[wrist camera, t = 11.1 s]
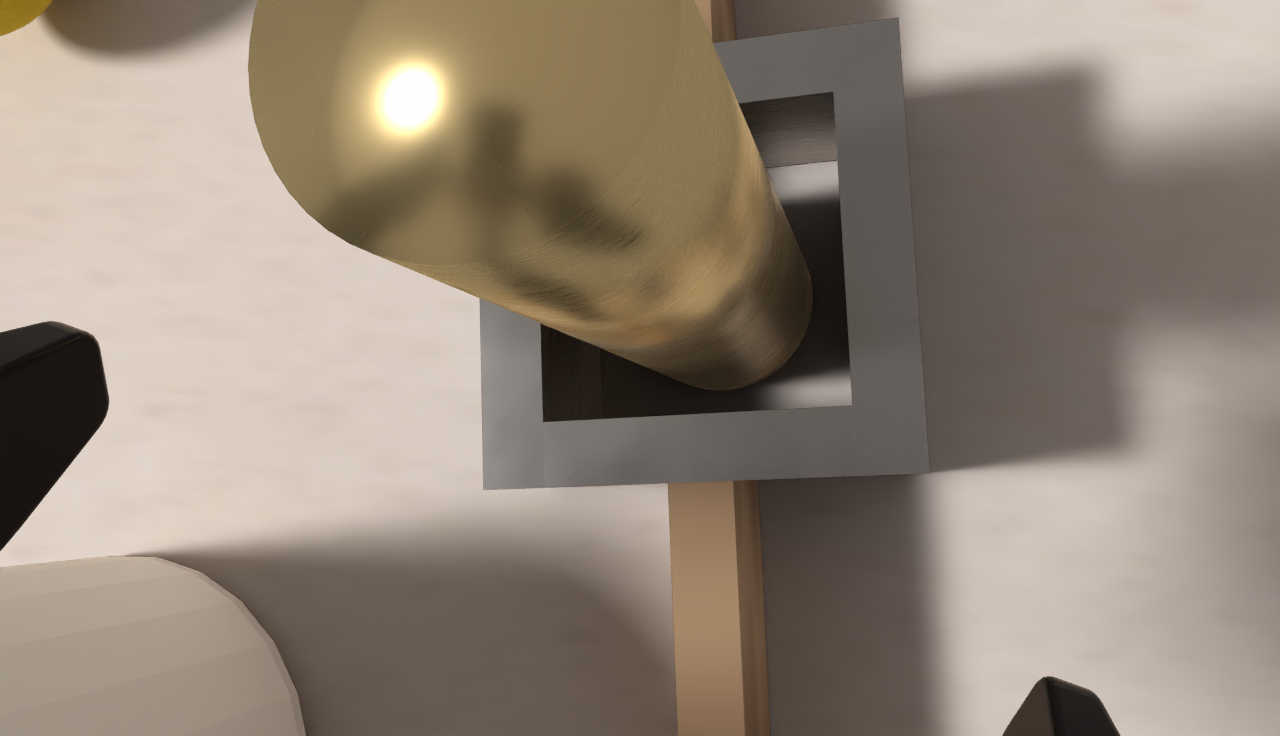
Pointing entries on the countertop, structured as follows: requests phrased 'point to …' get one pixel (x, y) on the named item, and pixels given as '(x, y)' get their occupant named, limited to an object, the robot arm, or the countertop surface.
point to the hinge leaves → (718, 577)
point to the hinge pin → (542, 167)
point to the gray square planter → (875, 299)
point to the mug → (135, 654)
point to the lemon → (19, 13)
